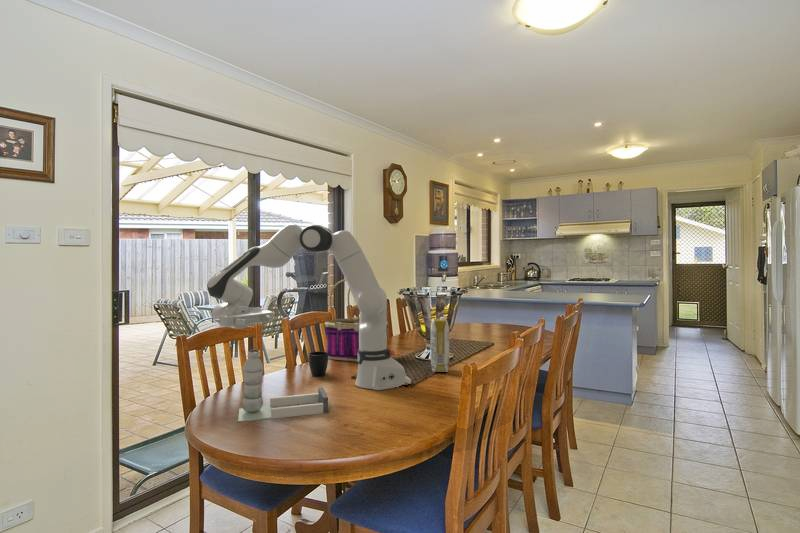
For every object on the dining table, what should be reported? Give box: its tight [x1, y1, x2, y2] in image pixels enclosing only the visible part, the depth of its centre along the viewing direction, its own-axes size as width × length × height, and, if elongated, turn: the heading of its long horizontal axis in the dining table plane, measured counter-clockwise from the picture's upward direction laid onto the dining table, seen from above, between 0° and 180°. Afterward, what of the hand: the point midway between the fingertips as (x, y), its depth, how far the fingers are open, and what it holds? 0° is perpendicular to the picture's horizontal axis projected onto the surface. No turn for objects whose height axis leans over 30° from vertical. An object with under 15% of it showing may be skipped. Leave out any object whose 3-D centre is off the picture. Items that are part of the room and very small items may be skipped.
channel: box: [269, 386, 329, 420], centre depth 153 cm, size 18×12×5 cm
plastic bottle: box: [241, 349, 265, 412], centre depth 149 cm, size 6×7×20 cm
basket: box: [324, 278, 389, 363], centre depth 229 cm, size 31×20×40 cm, turn 69°
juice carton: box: [430, 316, 450, 372], centre depth 202 cm, size 9×8×24 cm
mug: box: [308, 350, 329, 378], centre depth 198 cm, size 8×12×10 cm
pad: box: [237, 404, 272, 423], centre depth 149 cm, size 10×12×1 cm
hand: (257, 320), depth 166 cm, fingers open, 8 cm apart
